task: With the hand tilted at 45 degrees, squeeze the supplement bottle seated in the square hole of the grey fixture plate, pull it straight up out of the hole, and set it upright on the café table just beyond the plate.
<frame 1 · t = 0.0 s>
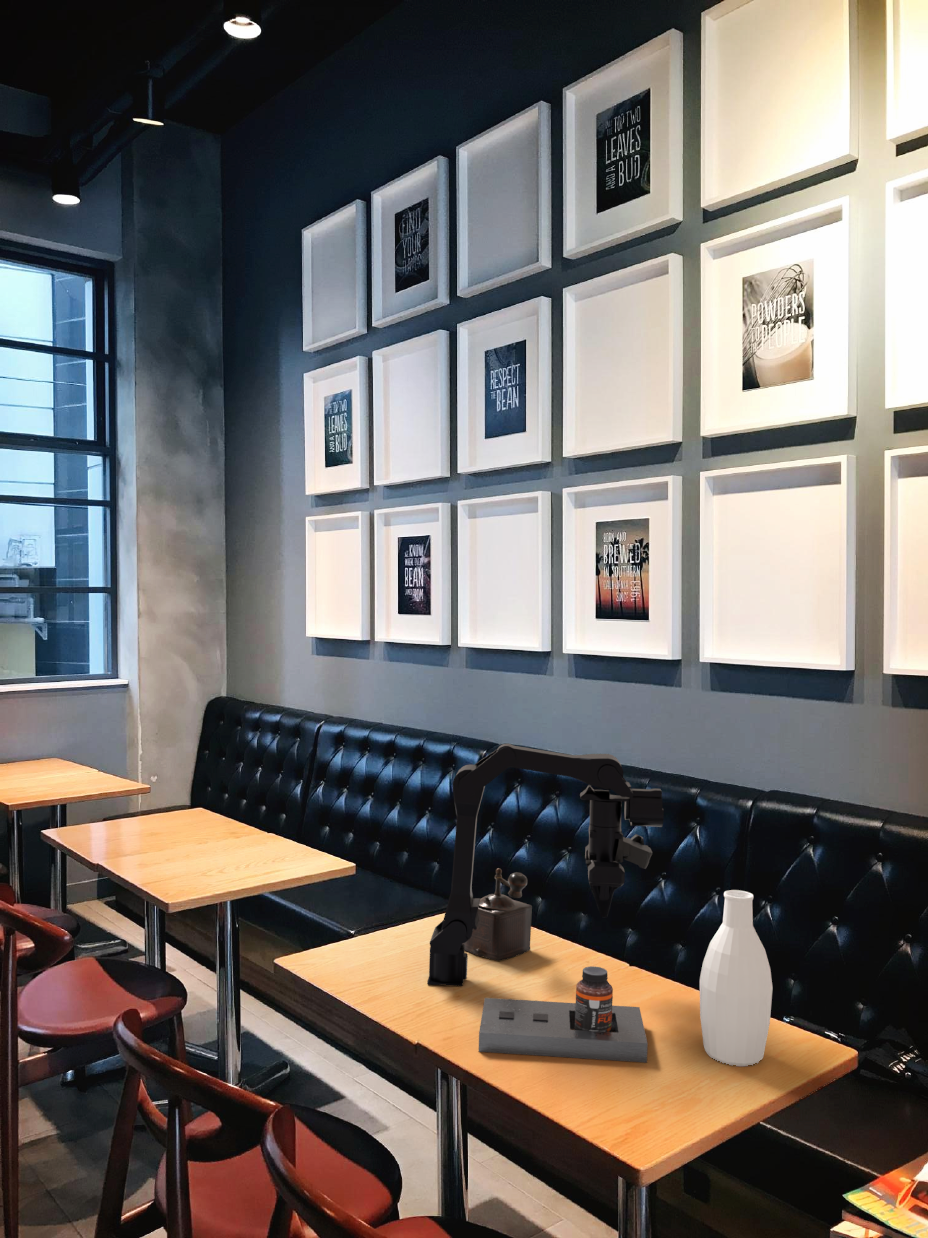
hand: (602, 909, 184), 15 cm above the table, tool pointing down, fingers open, 9 cm apart
bottle: (733, 1055, 158), on the table
grey fixture plate: (561, 1037, 163), on the table
brown coffee grinder: (504, 954, 201), on the table
supplement bottle: (592, 1041, 162), resting in grey fixture plate
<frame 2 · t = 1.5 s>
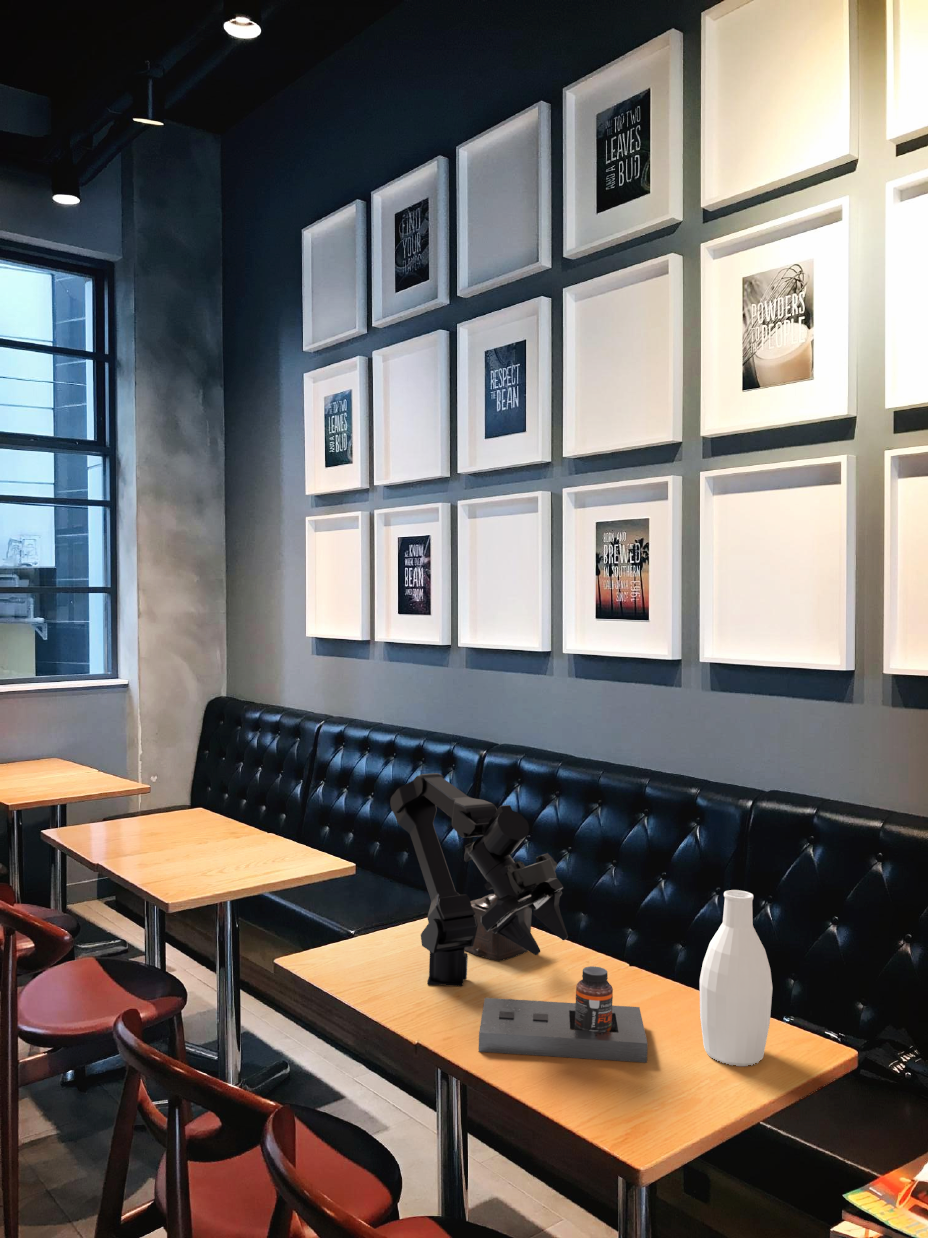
hand: (552, 946, 167), 13 cm above the table, tool tilted 45°, fingers open, 9 cm apart
nothing on the table moved.
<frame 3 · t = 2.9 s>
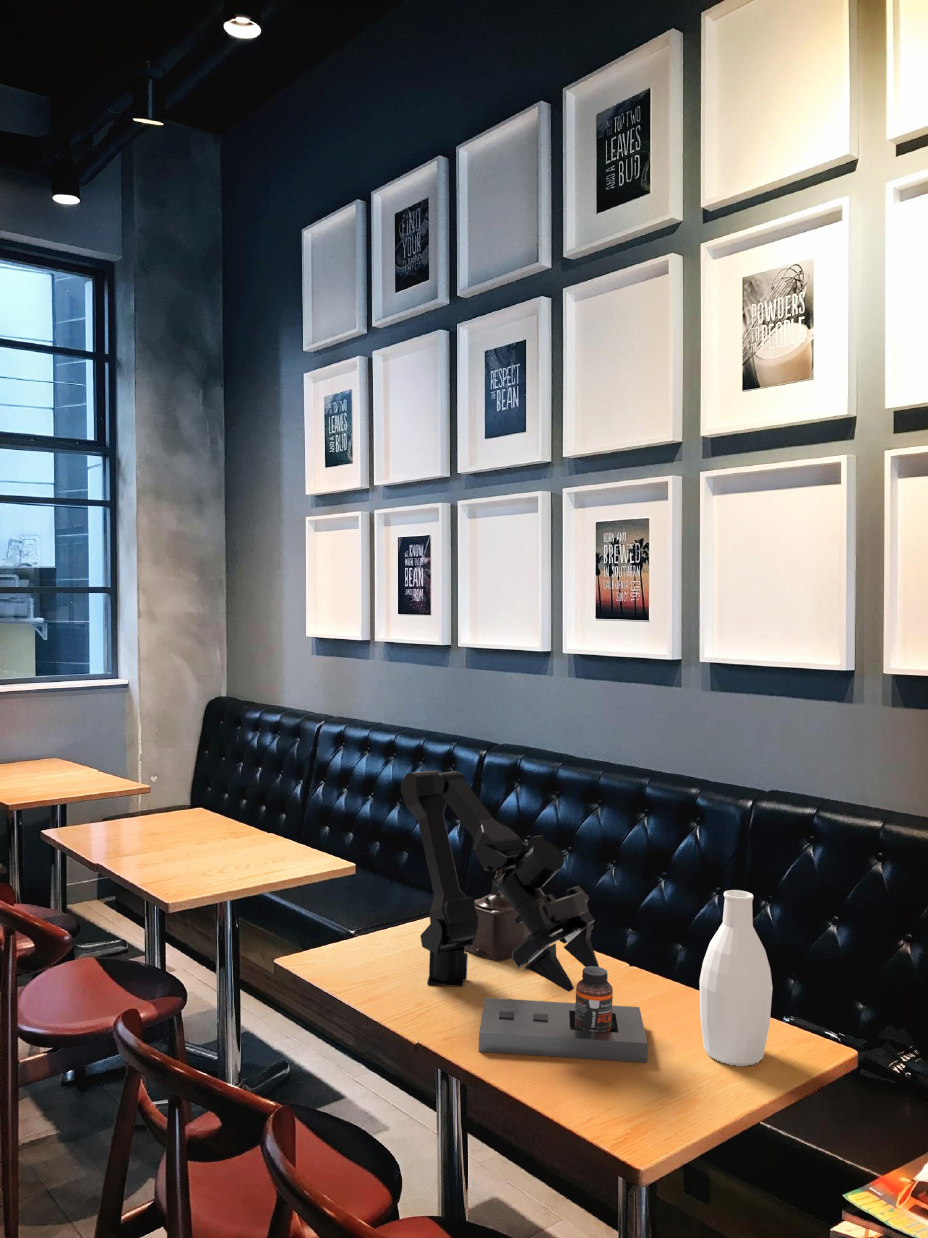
hand: (585, 982, 163), 9 cm above the table, tool tilted 45°, fingers open, 9 cm apart
nothing on the table moved.
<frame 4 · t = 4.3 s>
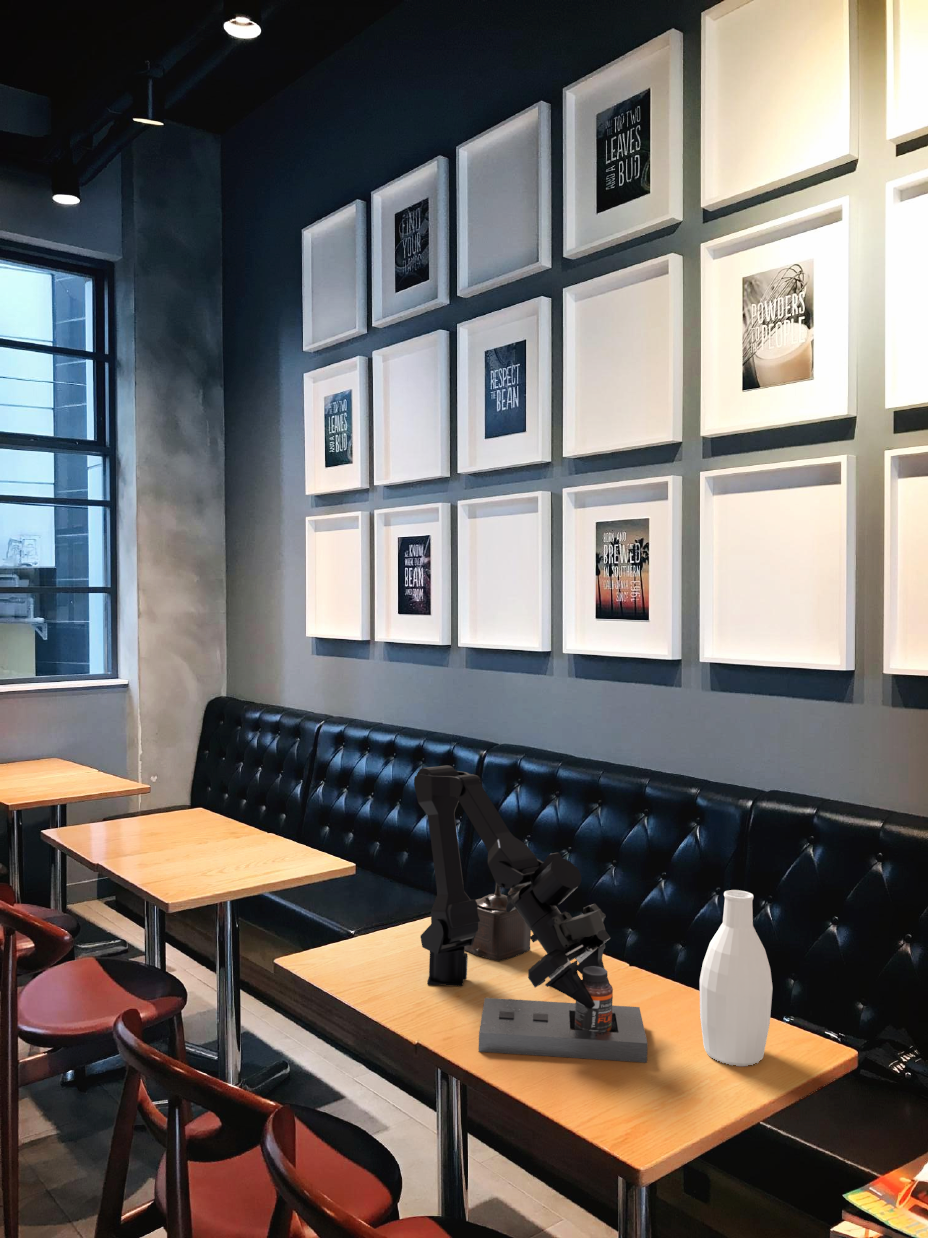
hand: (601, 1001, 161), 7 cm above the table, tool tilted 45°, fingers closed on supplement bottle, 6 cm apart
supplement bottle: (592, 1041, 162), resting in grey fixture plate, touching gripper
everything else where it was.
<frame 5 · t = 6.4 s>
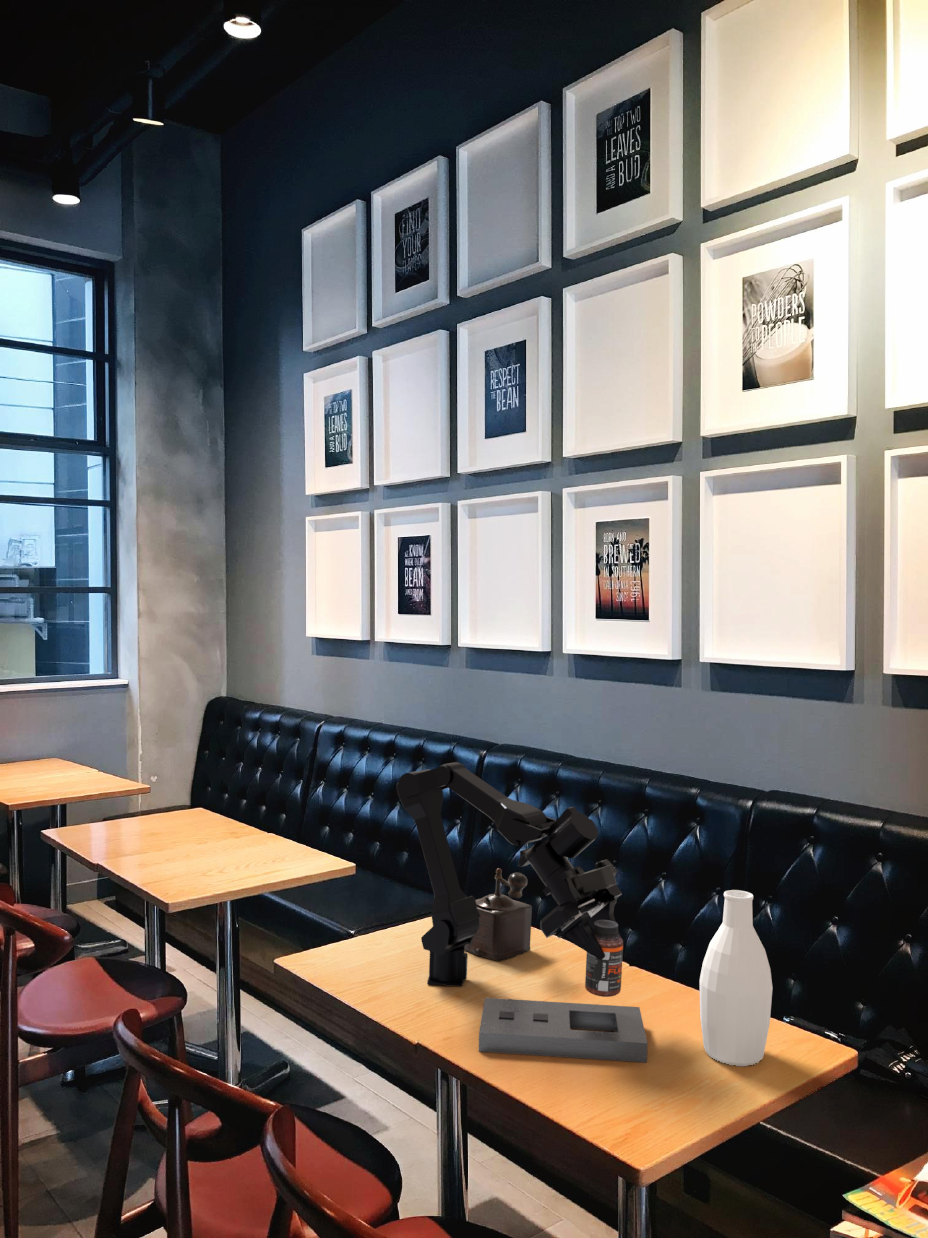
hand: (612, 953, 165), 13 cm above the table, tool tilted 45°, fingers closed on supplement bottle, 6 cm apart
supplement bottle: (602, 992, 166), point 6 cm above the table, touching gripper
everything else where it was.
when the fingers open (8 cm above the table, at t = 8.8 s): supplement bottle drops 1 cm, on the table.
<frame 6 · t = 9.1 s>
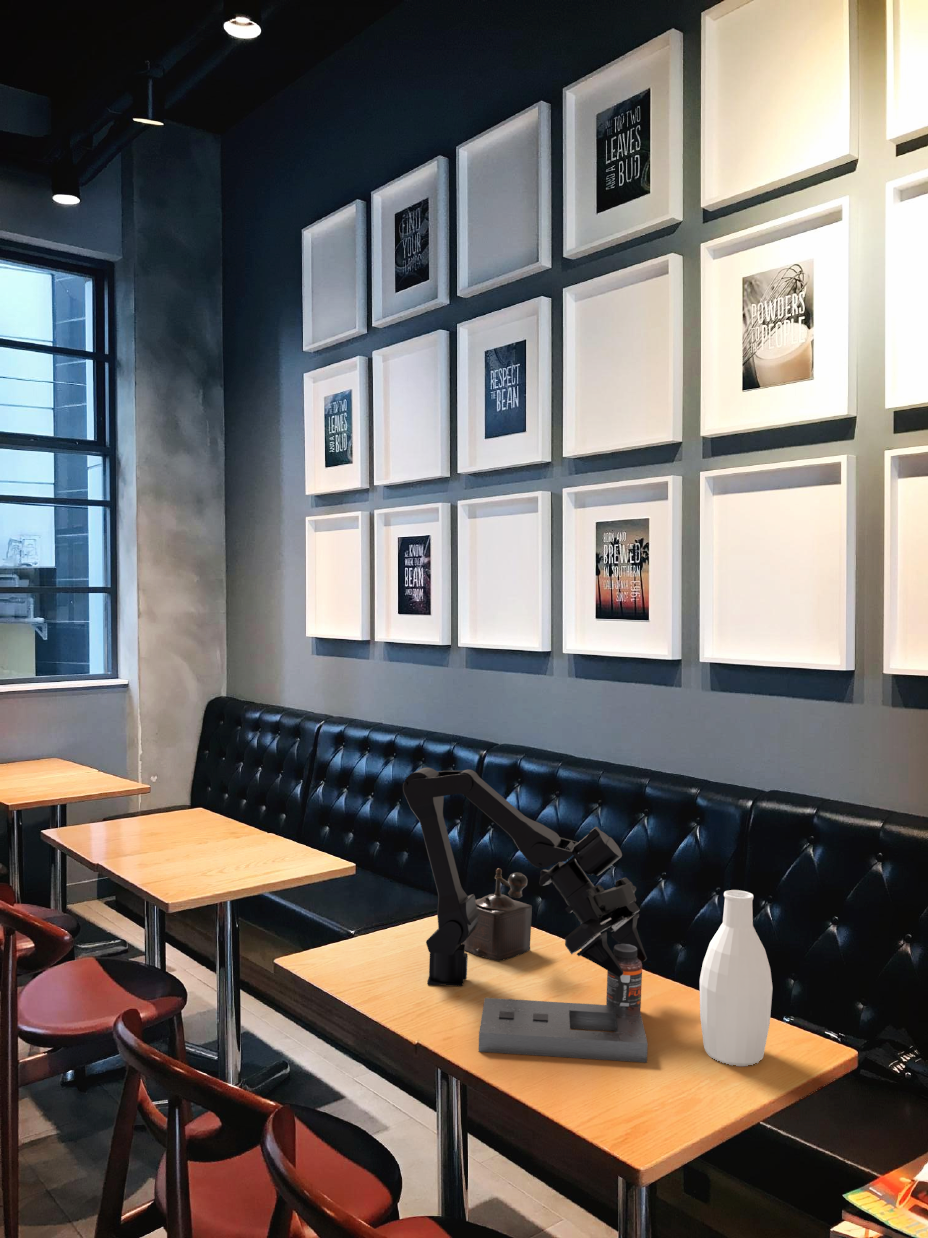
hand: (633, 967, 173), 8 cm above the table, tool tilted 45°, fingers open, 9 cm apart
supplement bottle: (623, 1013, 174), on the table
everything else where it was.
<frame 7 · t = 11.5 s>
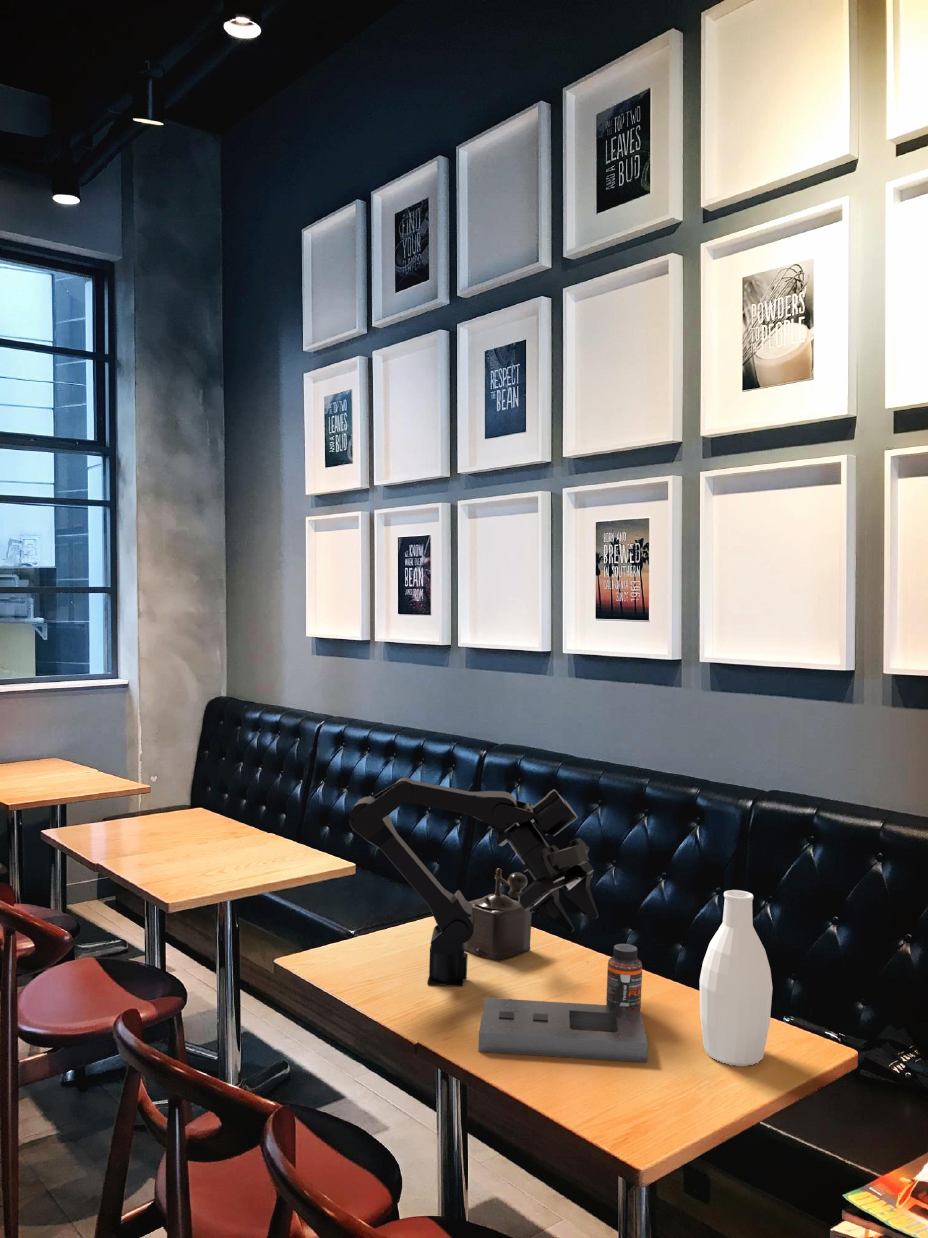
hand: (584, 924, 178), 13 cm above the table, tool tilted 45°, fingers open, 9 cm apart
nothing on the table moved.
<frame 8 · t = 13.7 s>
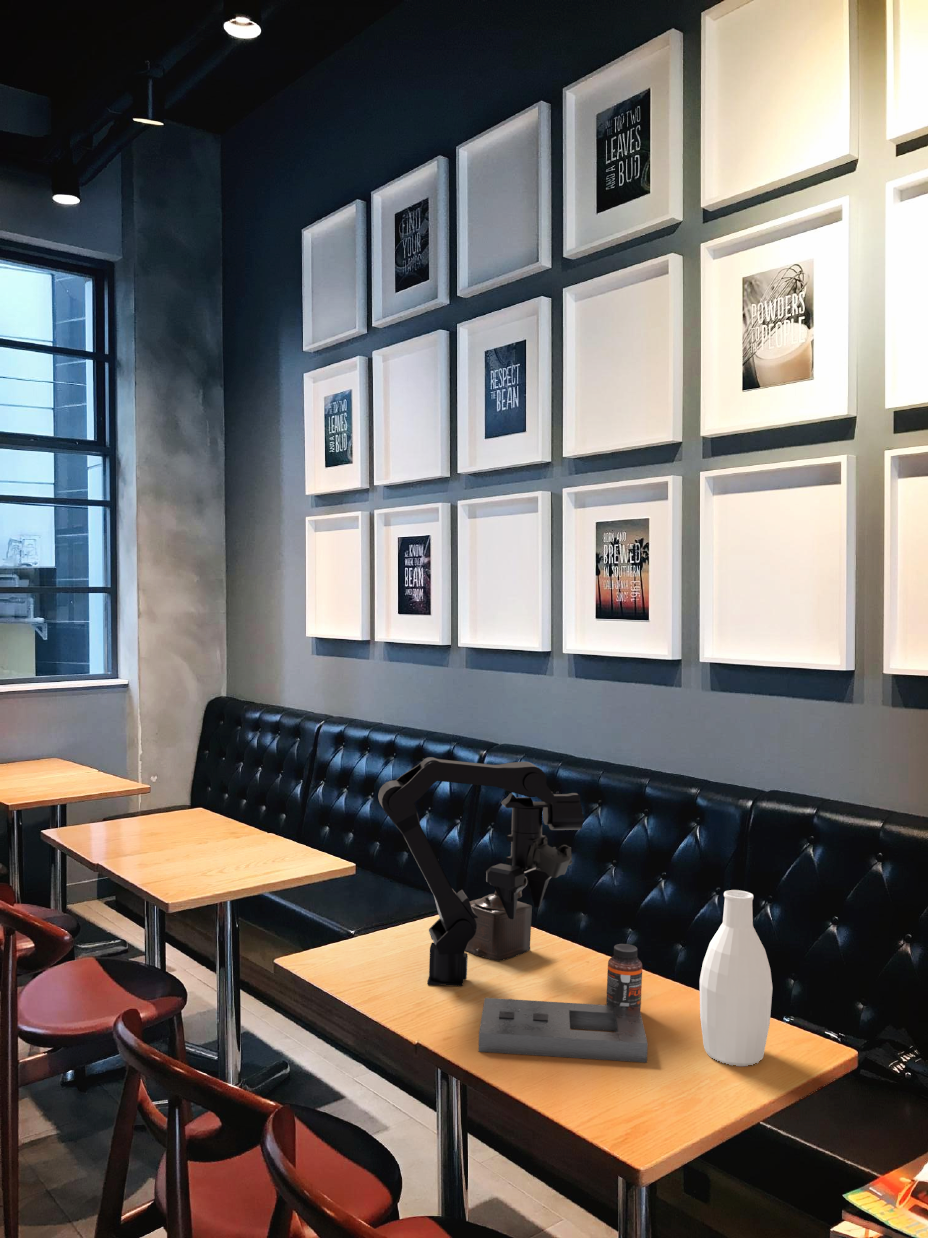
hand: (524, 913, 189), 12 cm above the table, tool pointing down, fingers open, 9 cm apart
nothing on the table moved.
at the end: supplement bottle inside the target area (0.2 cm from its centre), on the table; supplement bottle tilted 0°; the gripper is holding nothing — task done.
